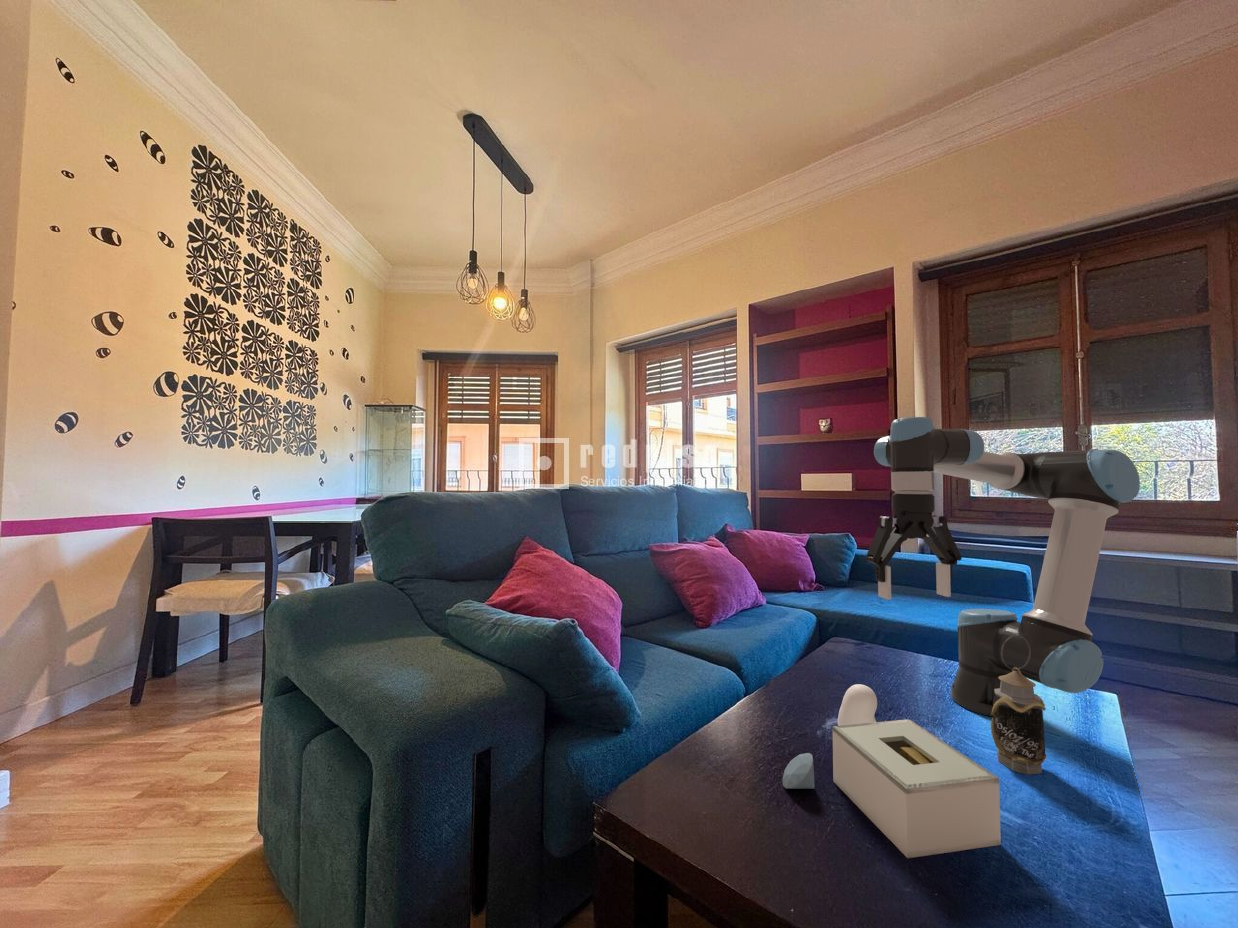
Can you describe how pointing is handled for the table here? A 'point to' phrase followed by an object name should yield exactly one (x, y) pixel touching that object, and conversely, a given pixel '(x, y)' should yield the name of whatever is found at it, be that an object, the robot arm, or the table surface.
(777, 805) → the table surface
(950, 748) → the coin box
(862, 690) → the figurine
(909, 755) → the tan rectangular block
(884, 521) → the robot arm
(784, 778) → the gemstone
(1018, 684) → the ring-topped bottle ornament
